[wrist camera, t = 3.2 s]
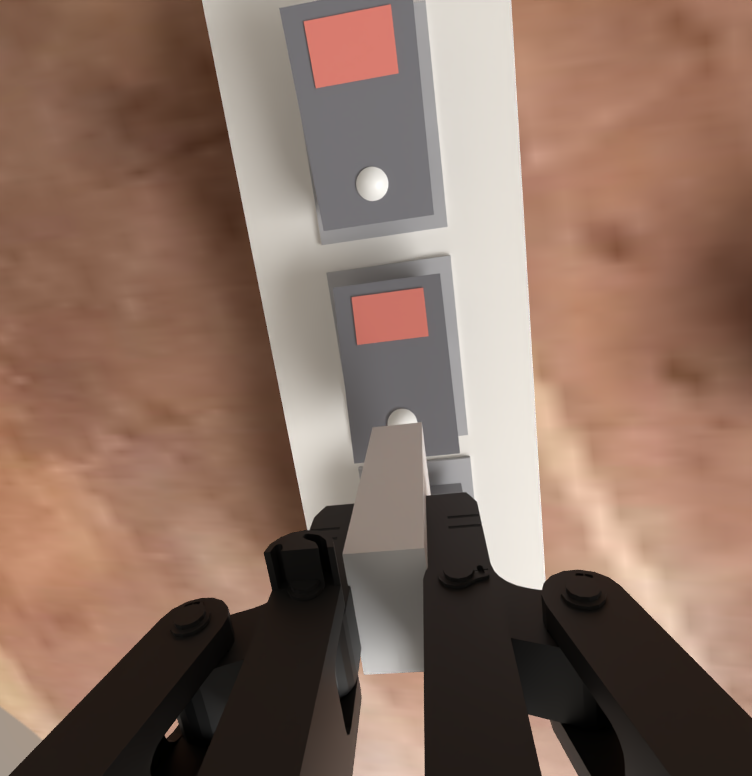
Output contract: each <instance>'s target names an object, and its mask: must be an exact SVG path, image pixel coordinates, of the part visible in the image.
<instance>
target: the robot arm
mask: <svg viewBox="0 0 752 776" xmlns="http://www.w3.org/2000/svg"><path fill="white" fill-rule="evenodd" d="M264 556H265V560H266V565H267V569H268V573H269V578H270V582H271V587H272V592H271V595H270V597H269V600H268V602H267V603H265V604H263V605H261V606H258V607H255V608H252V609H249V610H246V611H242V612H239V613H235V614H232V615H230V613H229V609H228V607H227V605H226V604H225V603H224V602H223V601H222V600H219V599H215V598H200V599H196V600H191V601H189V602H186V603H184V604H182V605H180V606H178V607H176V608H174V609H172V610H171V611H170V612H169V613H167V614H166V615H165V616H164V617H163V618H161V619H160V620H159V621H158V622H157V623H156V624H155V626H154V627H153V628H152V629H151V630H150V631H149V632H148V633H147V634H146V635H145V636H144V637H143V638H142V639H141V640H140V641H139V642H138V643H137V644H136V645H135V646H134V647H133V648H132V649H131V650H130V651H129V652H128V653H127V654H126V655H125V656H124V657H123V658H122V659H121V660H120V662H119V663H118V664H117V665H116V666H115V667H114V668H113V669H112V670H111V671H110V672H109V673H108V674H107V675H106V676H105V677H104V678H103V679H102V680H101V681H100V682H99V683H98V684H97V685H96V686H95V687H94V688H93V689H92V690H91V691H90V692H89V693H88V694H87V695H86V697H85V698H84V699H83V700H82V701H81V702H80V703H79V704H78V705H77V706H76V707H75V708H74V709H73V710H72V711H71V712H70V713H69V714H68V715H67V716H66V717H65V718H64V719H63V720H62V721H61V722H60V723H59V724H58V725H57V726H56V727H55V728H54V729H53V730H52V731H51V733H50V734H49V735H48V736H47V737H46V738H45V739H44V740H43V741H42V742H41V743H40V744H39V745H38V746H37V747H36V748H35V749H34V750H33V751H32V752H31V753H30V754H29V755H28V756H27V757H26V758H25V759H24V760H23V761H22V763H20V764H19V765H18V767H17V768H16V769H15V770H14V771H13V772H12V773H11V774H10V775H9V776H352V774H353V765H354V757H355V748H356V740H357V732H358V723H359V715H360V706H361V689H360V683H359V677H358V670H359V662H360V655H361V661H362V666H363V672H364V675H366V674H385V673H405V672H424V738H425V776H542V775H541V771H540V766H539V762H538V757H537V753H536V749H535V744H534V740H533V735H532V731H531V726H530V722H529V717H528V714H529V715H533V716H537V717H541V718H545V719H549V720H550V722H551V725H552V728H553V731H554V732H555V734H556V736H557V738H558V740H559V741H560V743H561V745H562V747H563V749H564V750H565V752H566V754H567V756H568V758H569V760H570V761H571V763H572V765H573V767H574V769H575V770H576V772H577V774H578V776H752V718H751V717H750V716H749V715H748V714H747V713H746V712H745V711H744V710H743V709H742V708H741V707H740V706H739V705H738V704H737V703H736V702H735V701H734V700H733V699H732V698H731V697H730V696H729V695H728V694H727V693H726V692H725V691H724V690H723V689H722V688H721V687H720V686H719V685H718V684H717V683H716V682H715V681H714V680H713V678H712V677H711V676H710V675H709V674H708V673H707V672H706V671H705V670H704V669H703V668H702V667H701V666H700V665H699V664H698V663H697V662H696V661H695V660H694V659H693V658H692V657H691V656H690V655H689V654H688V653H687V652H686V651H685V650H684V649H683V648H682V647H681V646H680V645H679V644H678V643H677V642H676V641H675V640H674V639H673V638H672V637H671V636H670V635H669V634H668V633H667V632H666V631H665V630H664V629H663V628H662V627H661V626H660V625H659V624H658V623H657V622H656V621H655V620H654V619H653V618H652V617H651V616H650V615H649V614H648V613H647V612H646V611H645V610H644V609H643V608H642V607H641V606H640V605H639V604H638V603H637V602H636V601H635V600H634V599H633V598H632V597H631V596H630V595H629V594H628V593H627V592H626V591H625V590H624V589H623V588H622V587H621V586H620V585H619V584H617V583H616V582H615V581H613V580H612V579H610V578H609V577H606V576H604V575H601V574H598V573H596V572H591V571H584V570H570V571H562V572H560V573H557V574H555V575H552V576H551V577H550V578H549V579H548V580H546V581H545V582H544V583H543V587H542V590H538V589H532V588H526V587H522V586H518V585H515V584H512V583H510V582H508V581H506V580H504V579H503V578H501V577H500V576H498V574H497V573H496V572H495V571H494V569H493V567H492V565H491V563H490V558H489V554H488V549H487V545H486V540H485V536H484V531H483V527H482V522H481V517H480V513H479V508H478V504H477V501H476V500H475V499H473V498H472V497H471V496H470V495H469V494H468V493H467V492H461V493H450V494H439V495H431V493H430V485H429V477H428V469H427V460H426V452H425V444H424V436H423V428H422V422H419V423H409V424H400V425H390V426H381V427H373V428H372V432H371V436H370V440H369V444H368V449H367V453H366V457H365V461H364V465H363V470H362V474H361V478H360V482H359V487H358V491H357V495H356V499H355V503H354V504H343V505H331V506H326V507H324V508H323V509H322V510H321V511H320V512H319V513H318V514H317V515H316V516H315V517H314V519H313V522H312V525H311V527H310V530H304V531H299V532H293V533H290V534H288V535H285V536H283V537H280V538H279V539H277V540H276V541H274V542H273V543H271V544H270V545H269V546H268V548H267V549H266V550H265V552H264ZM176 719H177V720H178V723H179V725H178V726H177V728H176V729H175V730H174V732H173V733H172V734H171V735H170V736H169V737H168V738H167V739H166V738H165V734H166V732H167V731H168V729H169V728H170V727H171V725H172V724H173V723H174V721H175V720H176Z"/></svg>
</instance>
